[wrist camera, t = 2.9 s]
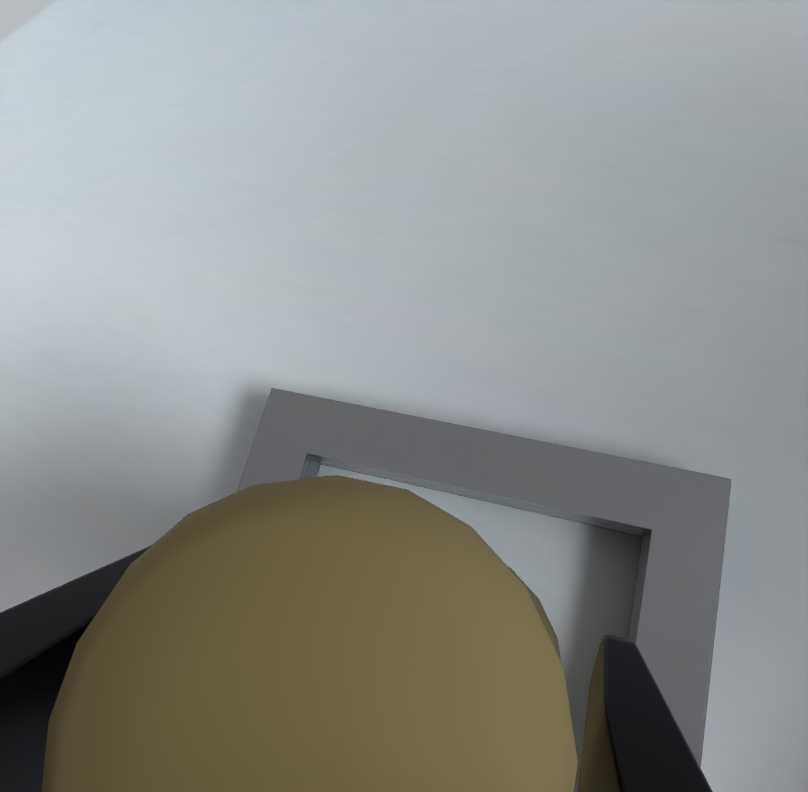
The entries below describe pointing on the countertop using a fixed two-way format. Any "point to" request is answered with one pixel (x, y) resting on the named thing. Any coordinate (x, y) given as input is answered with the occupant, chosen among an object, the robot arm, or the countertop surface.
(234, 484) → the countertop surface
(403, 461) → the socket collar
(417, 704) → the cork
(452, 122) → the countertop surface
